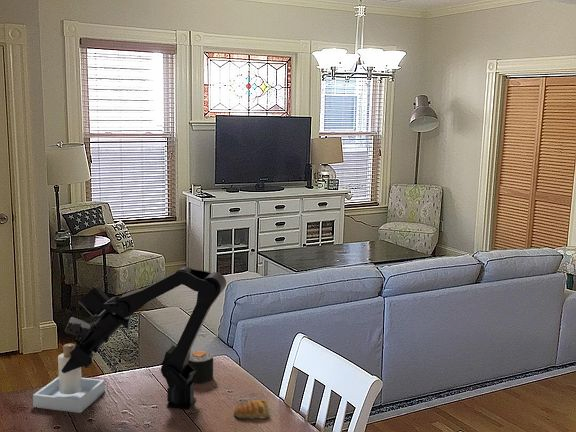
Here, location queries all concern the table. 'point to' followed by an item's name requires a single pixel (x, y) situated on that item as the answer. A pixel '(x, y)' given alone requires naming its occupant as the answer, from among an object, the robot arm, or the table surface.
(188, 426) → the table surface
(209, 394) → the table surface
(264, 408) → the pastry
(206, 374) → the sushi
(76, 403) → the bin
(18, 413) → the table surface
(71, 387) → the dressing bottle
